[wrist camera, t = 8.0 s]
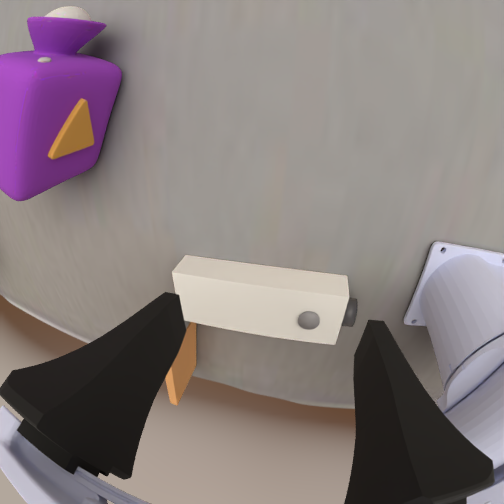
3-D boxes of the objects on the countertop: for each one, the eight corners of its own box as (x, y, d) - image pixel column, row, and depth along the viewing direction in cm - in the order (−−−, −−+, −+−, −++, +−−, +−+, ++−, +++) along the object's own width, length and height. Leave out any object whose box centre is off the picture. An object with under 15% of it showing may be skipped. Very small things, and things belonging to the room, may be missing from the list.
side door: (188, 304, 25) (160, 351, 20) (196, 307, 25) (169, 354, 20) (190, 362, 30) (170, 403, 25) (196, 365, 30) (177, 405, 25)
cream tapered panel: (359, 277, 20) (363, 301, 17) (345, 324, 22) (346, 349, 20) (185, 254, 22) (170, 274, 20) (192, 301, 25) (180, 322, 23)
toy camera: (152, 11, 13) (49, -17, 4) (118, 173, 20) (24, 225, 12) (65, 22, 13) (-21, 24, 5) (45, 151, 21) (-32, 186, 12)
